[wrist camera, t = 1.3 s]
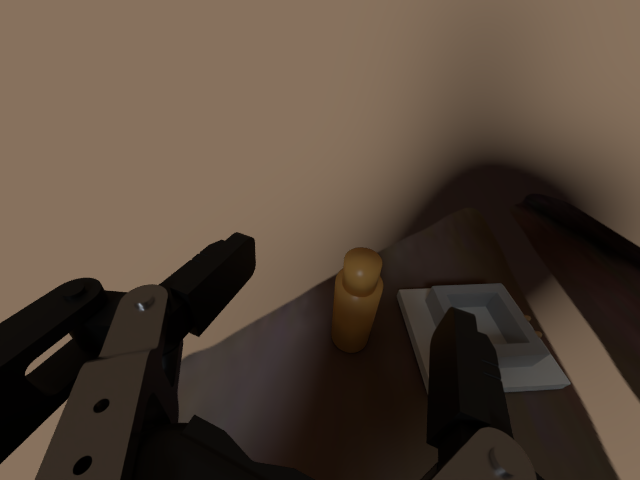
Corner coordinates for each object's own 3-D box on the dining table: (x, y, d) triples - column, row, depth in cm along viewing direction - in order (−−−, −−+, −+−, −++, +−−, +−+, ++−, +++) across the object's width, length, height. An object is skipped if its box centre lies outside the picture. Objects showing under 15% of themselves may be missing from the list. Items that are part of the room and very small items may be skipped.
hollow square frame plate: (499, 292, 36) (516, 270, 33) (562, 388, 27) (594, 372, 24) (396, 296, 35) (404, 274, 32) (428, 396, 27) (443, 380, 23)
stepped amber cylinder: (364, 316, 33) (382, 241, 24) (371, 351, 30) (395, 280, 21) (329, 318, 33) (334, 243, 24) (332, 353, 30) (340, 282, 21)
